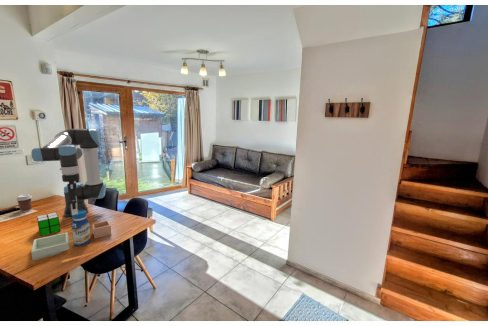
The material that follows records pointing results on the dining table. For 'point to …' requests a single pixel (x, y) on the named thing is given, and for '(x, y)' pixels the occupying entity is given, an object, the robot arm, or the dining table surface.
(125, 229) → the dining table surface
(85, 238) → the beverage bottle
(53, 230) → the puzzle cube
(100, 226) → the pink box
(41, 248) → the green box
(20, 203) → the coffee cup
